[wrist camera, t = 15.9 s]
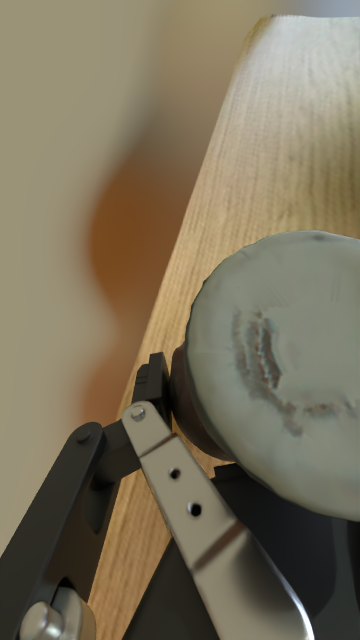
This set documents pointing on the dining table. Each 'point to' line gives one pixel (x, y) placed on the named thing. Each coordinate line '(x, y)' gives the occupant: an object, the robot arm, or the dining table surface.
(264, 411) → the sauce bottle
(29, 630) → the robot arm
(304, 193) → the dining table surface
